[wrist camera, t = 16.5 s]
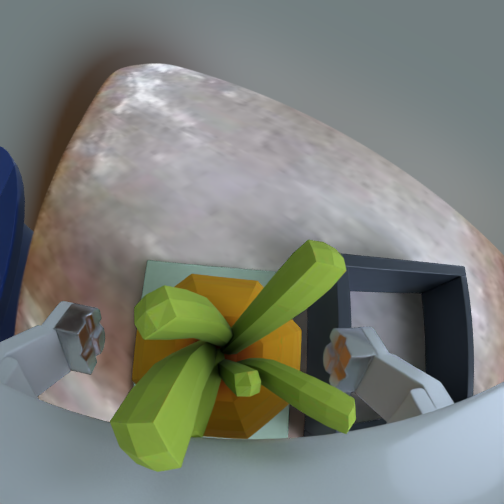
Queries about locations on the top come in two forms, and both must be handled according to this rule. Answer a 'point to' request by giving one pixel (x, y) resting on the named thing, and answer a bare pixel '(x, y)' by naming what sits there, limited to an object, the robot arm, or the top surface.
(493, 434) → the robot arm
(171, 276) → the mat
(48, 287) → the top surface
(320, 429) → the crate
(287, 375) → the carrot
